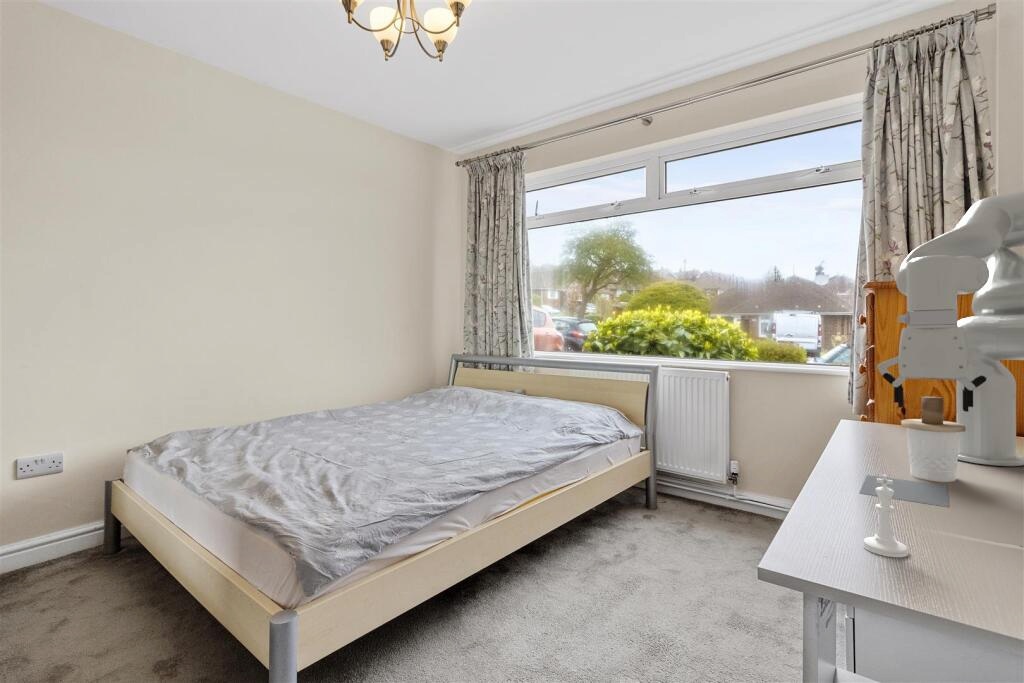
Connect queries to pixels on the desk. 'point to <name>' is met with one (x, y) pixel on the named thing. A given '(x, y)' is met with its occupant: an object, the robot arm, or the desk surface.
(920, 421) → the lid
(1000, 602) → the desk surface
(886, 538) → the chess piece
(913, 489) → the mat
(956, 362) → the robot arm
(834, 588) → the desk surface
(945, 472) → the white cup
